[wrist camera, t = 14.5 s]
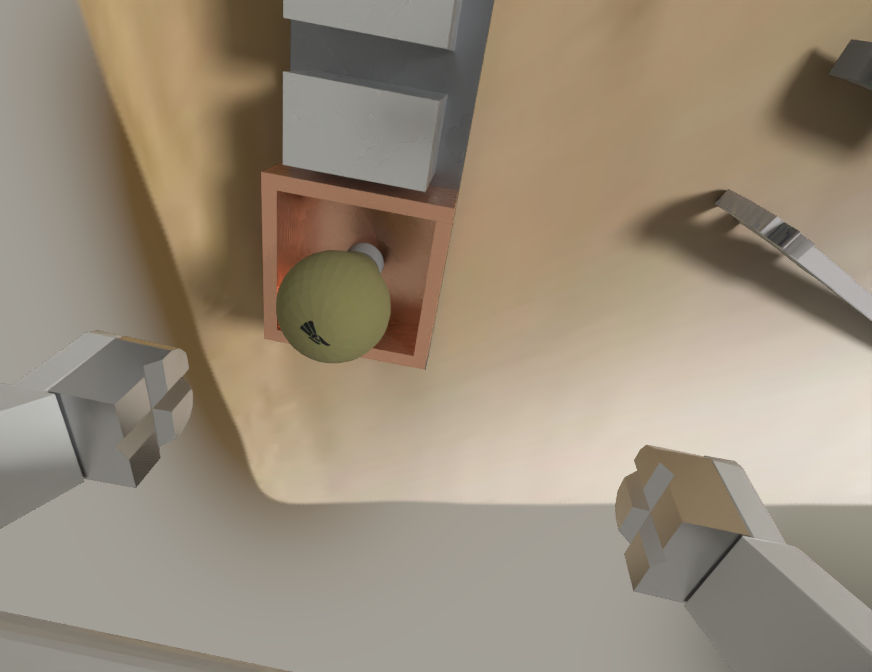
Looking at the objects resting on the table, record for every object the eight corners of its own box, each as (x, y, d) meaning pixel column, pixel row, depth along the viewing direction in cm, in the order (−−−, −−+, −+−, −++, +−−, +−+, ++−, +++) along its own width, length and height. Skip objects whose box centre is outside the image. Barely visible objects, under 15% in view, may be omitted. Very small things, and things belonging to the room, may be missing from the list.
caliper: (709, 201, 29) (760, 234, 23) (724, 185, 28) (780, 215, 23) (931, 369, 32) (1020, 431, 27) (948, 358, 32) (1042, 418, 27)
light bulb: (309, 272, 31) (240, 352, 23) (343, 196, 29) (279, 254, 20) (386, 312, 32) (348, 404, 23) (426, 242, 29) (399, 316, 21)
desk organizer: (302, -86, 24) (244, -133, 18) (503, -48, 24) (507, -83, 18) (294, 332, 36) (258, 383, 30) (428, 358, 36) (416, 413, 30)
